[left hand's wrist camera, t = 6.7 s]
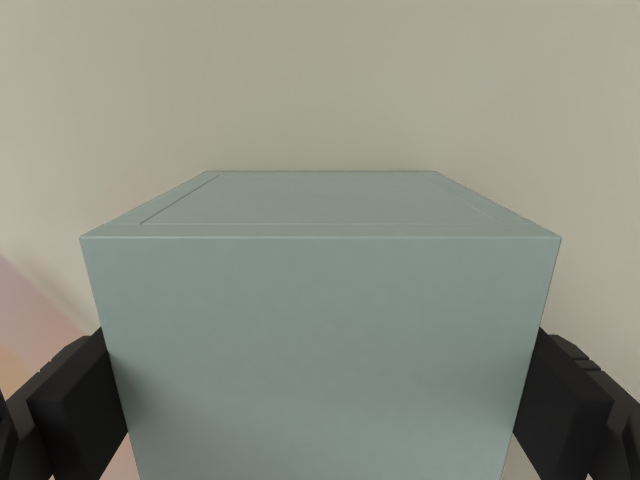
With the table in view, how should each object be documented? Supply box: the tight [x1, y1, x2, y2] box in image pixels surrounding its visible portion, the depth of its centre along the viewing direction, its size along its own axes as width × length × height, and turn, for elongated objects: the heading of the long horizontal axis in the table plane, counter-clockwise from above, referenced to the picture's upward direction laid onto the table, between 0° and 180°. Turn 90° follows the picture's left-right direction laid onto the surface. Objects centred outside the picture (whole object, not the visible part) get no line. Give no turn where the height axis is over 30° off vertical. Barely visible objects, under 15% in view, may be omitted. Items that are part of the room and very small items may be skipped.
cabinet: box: [79, 172, 562, 480], centre depth 15 cm, size 21×11×9 cm, turn 0°
